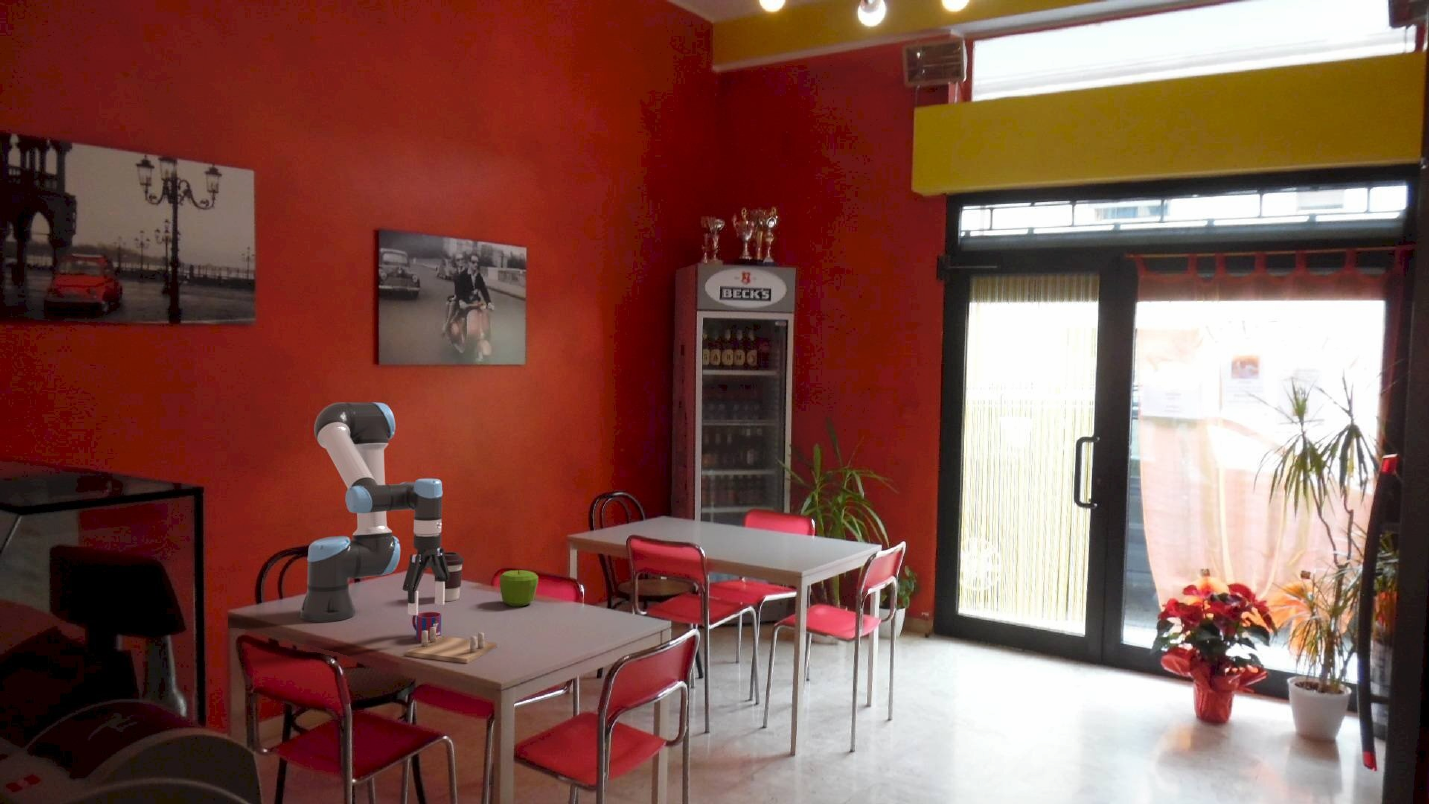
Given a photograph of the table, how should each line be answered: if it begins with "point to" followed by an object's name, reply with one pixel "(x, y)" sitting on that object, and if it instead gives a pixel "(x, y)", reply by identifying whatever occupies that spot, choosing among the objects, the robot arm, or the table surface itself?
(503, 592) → the apple
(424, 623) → the cup
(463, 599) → the table surface
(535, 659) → the table surface
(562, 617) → the table surface
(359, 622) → the table surface
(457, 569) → the coffee cup
